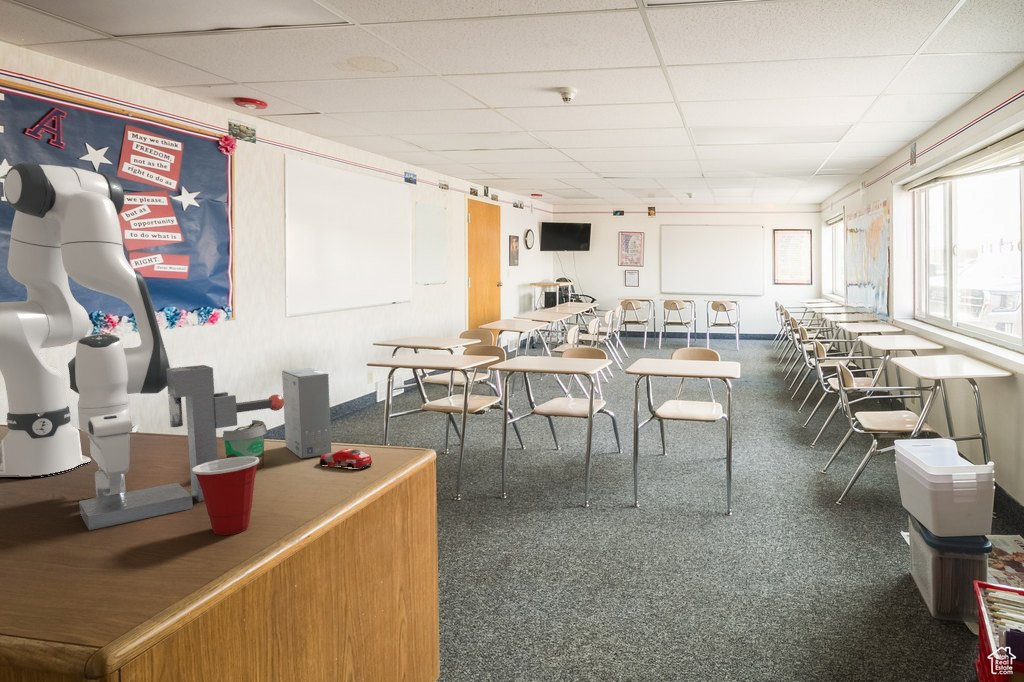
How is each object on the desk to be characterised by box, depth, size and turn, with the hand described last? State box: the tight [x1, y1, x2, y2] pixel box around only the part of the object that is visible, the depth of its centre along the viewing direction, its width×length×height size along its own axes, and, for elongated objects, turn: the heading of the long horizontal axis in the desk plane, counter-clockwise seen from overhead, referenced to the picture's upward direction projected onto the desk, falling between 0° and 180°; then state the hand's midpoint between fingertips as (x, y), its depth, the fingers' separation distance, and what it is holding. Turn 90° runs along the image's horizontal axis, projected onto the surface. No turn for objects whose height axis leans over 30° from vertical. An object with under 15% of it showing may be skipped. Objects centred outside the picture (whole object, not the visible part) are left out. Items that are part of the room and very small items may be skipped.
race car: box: [319, 448, 373, 469], centre depth 160 cm, size 13×5×4 cm, turn 62°
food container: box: [222, 419, 268, 472], centre depth 159 cm, size 12×6×10 cm, turn 168°
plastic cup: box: [192, 457, 259, 536], centre depth 121 cm, size 11×11×12 cm
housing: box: [94, 469, 127, 498], centre depth 138 cm, size 5×5×8 cm
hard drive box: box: [281, 367, 333, 459], centre depth 174 cm, size 16×8×20 cm, turn 32°
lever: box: [236, 394, 284, 414], centre depth 144 cm, size 3×14×3 cm, turn 129°
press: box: [78, 364, 238, 531], centre depth 133 cm, size 11×27×26 cm, turn 129°
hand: (110, 487), depth 138 cm, fingers open, 8 cm apart
